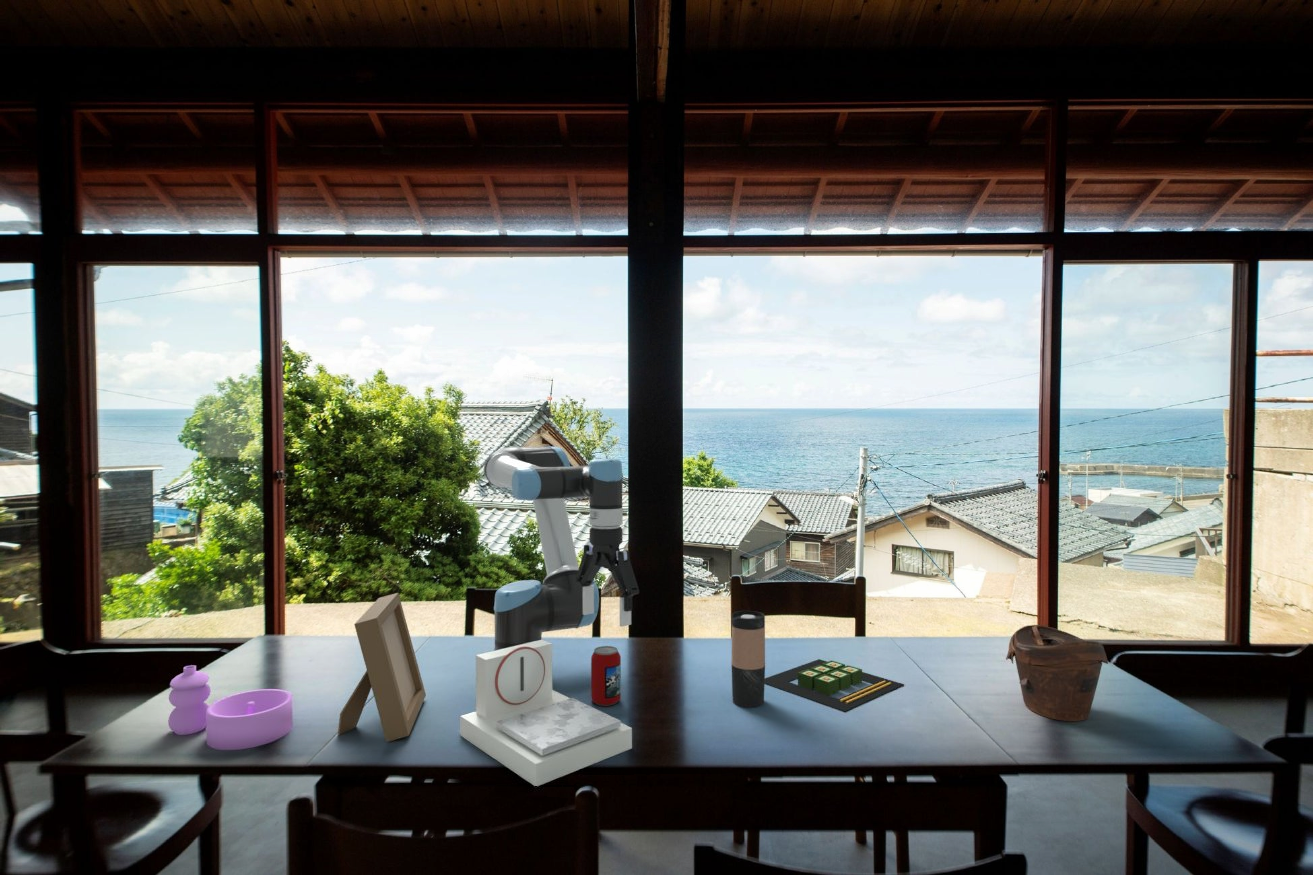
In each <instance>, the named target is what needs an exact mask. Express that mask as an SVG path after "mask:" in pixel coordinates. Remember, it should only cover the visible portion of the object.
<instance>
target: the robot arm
mask: <svg viewBox="0 0 1313 875" xmlns="http://www.w3.org/2000/svg"><path fill="white" fill-rule="evenodd" d="M570 463H571V462H570V460H569V457H568V455H567V453H566V451H564V450H563V449H562V448H561V447H558V446H549V445H544V446H507V447H503V448H500V449H497V450H496V451H494V452H492V453H490V454H489V456H488V457H487V458H486V460H485V462H484V466H483V473H484V476H485V478H486V480H487V481H488V483H490V484H491V485H493V486H495V487H497V488H501V489H503V488H509V489H511V492H512V495H513V496H514V498H515V499H516V500H519V501H532V502H533V508H534V512H535V518H536V523H537V529H538V533H539V534H538V535H539V539H540V545H541V551H542V555H543V560H544V564H545V565H544V566H545V571H546V576H545V577H544V578H543V581H542V582H541V581H539V580H538V579H537V580H536V579H528V580H527V579H523V580H518V581H513V582H511V583H506V584H504V585H502V586H501V587H499V588H498V589H497V590H496V592H495V594H494V606H493V611H494V647H493V651H496V650H500V649H504V648H508V647H513V646H517V645H521V644H525V643H530V642H534V641H538V640H542V636H543V633H546V632H547V633H548V632H555V631H561V630H563V631H564V630H570V629H580V628H583V627H587V626H590V625H592V624H593V623H594V622H595V620H596V618H597V615H598V611H599V607H600V606H599V605H600V604H599V603H600V596H599V594H600V592H599V588H598V585H597V583H596V581H595V579H596V576H597V575H598V573H599V571H600V569H601V568H604V569H606V570H608V571H609V572H610V573H611V575H612V577H613V579H614V581H615V583H616V585H617V587H618V590H619V592H620V593H621V595H619V627H625V626H630V625H632V610H633V596H636V595H638V594H640V589H639V588H640V587H639V585H638V582H637V578H636V575H635V573H634V570H633V565H632V563H631V557H630V551H629V550H628V549H627V550H620V545H621V544H622V543H623V528H622V525H623V522H624V521H623V520H624V518H623V478H624V474H623V466H622V465H623V464H622V461H621V460H620V459H617V458H595V459H594V458H593V459H591V460H590V462H589V465H588V464H585V465H584V464H582V465H577V466H576V465H572V466H571V464H570ZM578 498H581V499H582V498H589V525H590V526H591V527H589V543H590V544H589V543H588V544H584V546H583V554H582V558H581V561H580V564H579V563H578V558H577V552H576V549H575V545H574V539H573V535H572V529H571V524H570V521H569V517H568V512H567V506H566V501H565V499H578Z"/></svg>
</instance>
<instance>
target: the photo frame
mask: <svg viewBox="0 0 1313 875" xmlns="http://www.w3.org/2000/svg"><path fill="white" fill-rule="evenodd" d="M400 597H401V596H400V594H399V592H396V593H392V594H388V595H385V596H381V597H378V598H377V599H376V600H375V601H374V603H372V605H371V606H370V607H369V608H367V610H366V611H365V612H364V613H363V614H362V615H361V616H360V617H359V618H358V619H357V621H356V622H355V623H354V624H353V625H354V629H355V632H356V636H357V639H358V644H359V646H360V651H361V653H362V658H363V661H364V665H365V668H366V670H365V672H364V674H363V676H362V677H361V679H360V680H359V682H358V684H357V686H355V689H354V690H353V692H352V694H351V695H350V697H349V698H348V701H347V702H346V703H345V705H344V707H343V708H342V710H341V711H340V713H339V720H338V729H337V735H339V736H340V735H342V734H344V733H347V732H348V731H349V732H350V731H351V730H353V729H355V728H356V727H358V723H359V721H360V717H361V716H362V713H363V710H364V708H365V705H366V702H367V699H368V696H369V694H370V692H371V690H372V694H373V697H374V701H375V705H376V709H377V712H378V716H379V719H380V722H381V727H382V729H383V734H384V737H385V741H386V743H389V742H393V741H396V740H398V739H401V738H405V737H408V736H410V734H411V731H412V730H413V726H414V724H415V721H416V719H417V718H418V714H419V712H420V710H421V707H422V705H423V703H424V701H425V698H426V696H427V694H426V690H425V687H424V683H423V678H422V676H421V675H422V674H421V671H420V668H419V665H418V661H417V658H416V654H415V653H416V652H415V650H414V647H413V642H412V640H411V639H412V638H411V634H410V630H409V628H408V623H407V619H406V616H405V612H404V610H403V609H404V608H403V605H402V602H401V598H400Z"/></svg>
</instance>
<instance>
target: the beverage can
mask: <svg viewBox="0 0 1313 875" xmlns="http://www.w3.org/2000/svg"><path fill="white" fill-rule="evenodd" d="M590 658H591V660H590V677H591V678H590V679H591V681H590V689H591V690H590V692H591V695H590V696H591V697H590V698H591V701H592V702H593V703H595V704H596V705H597V706H601V707H609V706H613V705H615V704H617V703H618V702H620V700H621V697H622V696H621V695H622V694H621V691H622V689H621V688H622V683H621V682H622V679H621V678H622V674H621V673H622V672H621V671H622V670H621V669H622V668H621V667H622V663H621V660H622V659H621V654H620V652H619V650H618V647H615V646H612V645H609V646H608V645H604V646H598V647H595V648H594V650H593V653H592V655H591V657H590Z"/></svg>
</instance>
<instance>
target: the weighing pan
mask: <svg viewBox="0 0 1313 875" xmlns="http://www.w3.org/2000/svg"><path fill="white" fill-rule="evenodd" d="M569 698H570V699H567V700H564V701H560V702H557V703H554V704H551V705H548V706H544V707H541V708H538V709H535V710H532V711H529V712H525V713H522V714H519V715H516V716H513V717H509V718H506V719H503V720H500V721H497V722H496V727H497V728H498V729H499V730H501V731H503V732H504V733H506V734H508V735H509V736H511V737H512V738H514V739H516V740H517V741H519V742H521V743H522V744H524V745H526V746H527V747H529V748H530V749H532V750H534V751H535V752H537V753H539V754H540V755H542V756H543V755H546V754H549V753H551V752H554V751H557V750H559V749H562V748H565V747H568V746H570V745H573V744H576V743H578V742H581V741H584V740H587V739H589V738H592V737H595V736H597V735H600V734H603V733H606V732H608V731H611V730H614V729H616V728H619V727H621V723H622V721H621V720H620V719H619V718H616V717H614V716H612V715H609V714H607V713H605V712H603V711H601V710H599V709H597V708H596V707H595V708H594V707H593V706H591V705H589V704H586V703H585V702H582V701H580V700H578V699H576V698H574V697H569Z"/></svg>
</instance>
